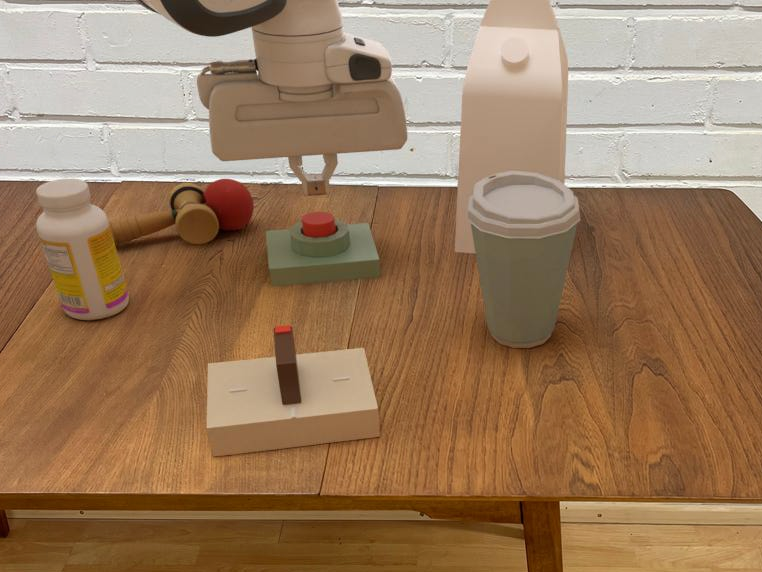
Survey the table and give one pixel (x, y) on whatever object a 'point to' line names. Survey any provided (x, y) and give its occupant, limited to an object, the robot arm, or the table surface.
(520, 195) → the disposable coffee cup
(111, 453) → the table surface
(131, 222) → the kendama
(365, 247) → the button box
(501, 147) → the milk
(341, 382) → the panel
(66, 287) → the supplement bottle
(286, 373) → the brown box red tab
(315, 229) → the button
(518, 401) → the table surface
